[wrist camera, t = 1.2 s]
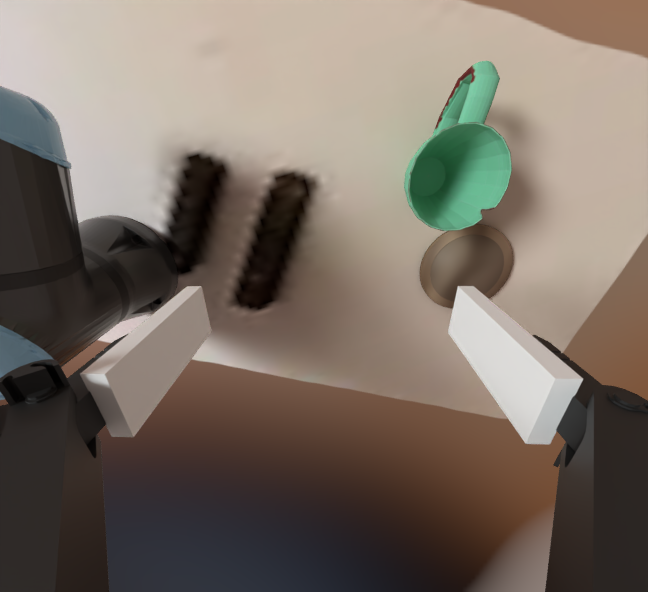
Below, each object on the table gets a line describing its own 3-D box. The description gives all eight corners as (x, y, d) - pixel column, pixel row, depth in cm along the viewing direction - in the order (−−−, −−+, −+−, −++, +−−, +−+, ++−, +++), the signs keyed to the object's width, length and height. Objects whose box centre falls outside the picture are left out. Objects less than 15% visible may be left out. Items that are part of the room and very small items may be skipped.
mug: (451, 219, 38) (489, 236, 29) (381, 211, 37) (397, 225, 28) (491, 91, 31) (555, 60, 22) (407, 79, 31) (439, 44, 22)
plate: (414, 306, 44) (416, 309, 43) (426, 224, 38) (428, 226, 37) (496, 306, 43) (500, 308, 42) (520, 223, 38) (525, 224, 37)
